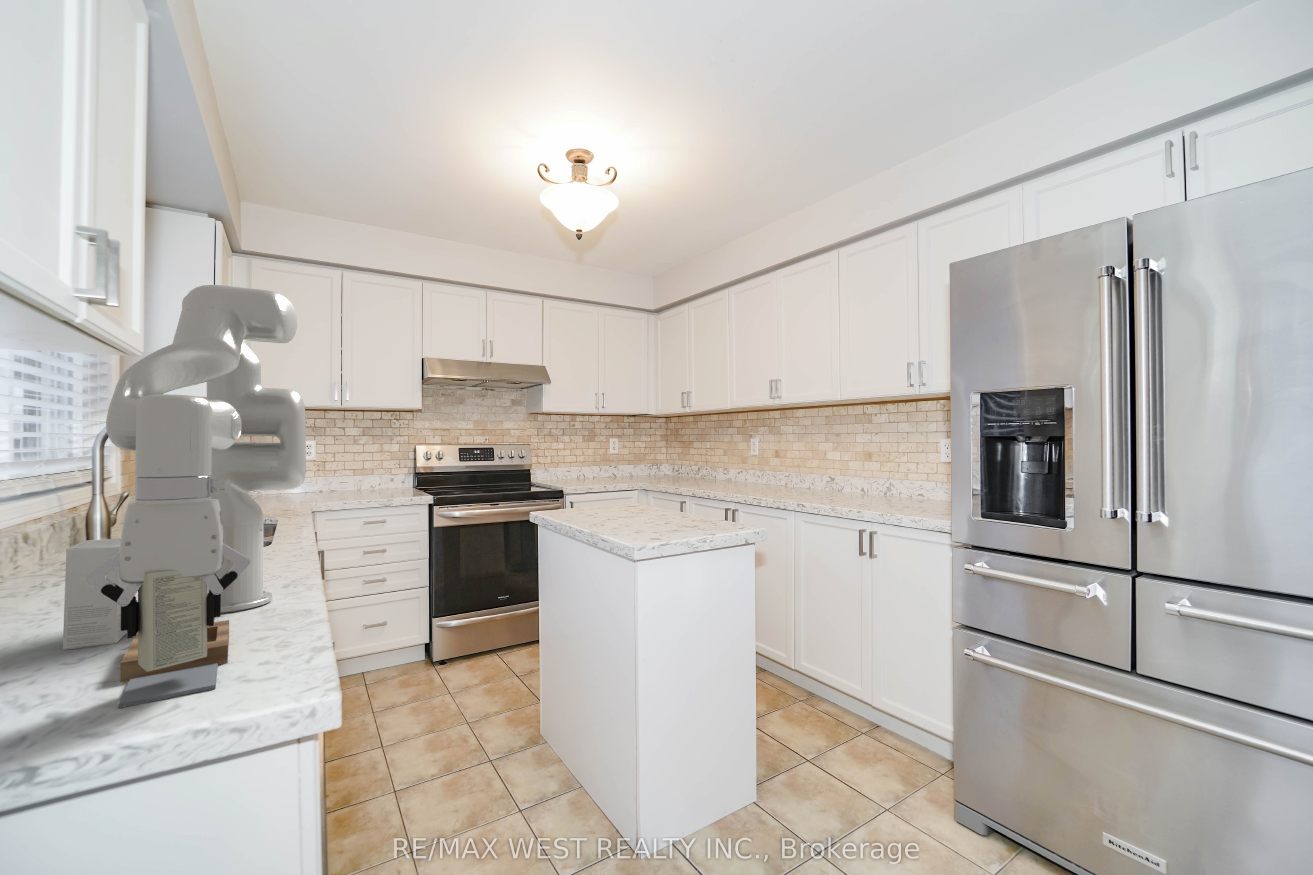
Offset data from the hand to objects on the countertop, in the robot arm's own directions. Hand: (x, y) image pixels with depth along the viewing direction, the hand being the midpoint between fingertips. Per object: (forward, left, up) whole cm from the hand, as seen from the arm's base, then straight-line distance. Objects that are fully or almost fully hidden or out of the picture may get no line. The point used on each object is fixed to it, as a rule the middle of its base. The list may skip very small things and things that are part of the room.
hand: (172, 628), depth 73 cm
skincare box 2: (0, 0, -4) cm, 4 cm away
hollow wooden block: (-13, 0, -7) cm, 15 cm away
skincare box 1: (-31, -11, -8) cm, 33 cm away
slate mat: (0, 0, -7) cm, 7 cm away
